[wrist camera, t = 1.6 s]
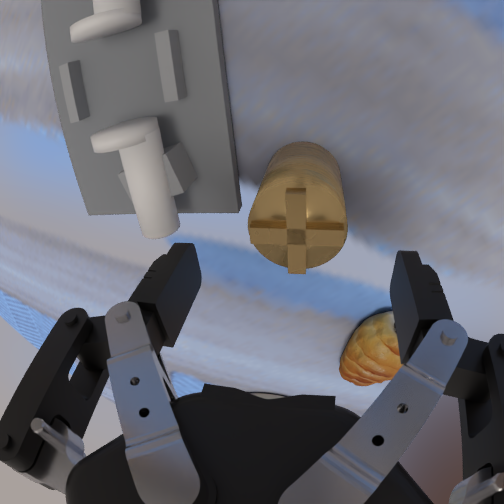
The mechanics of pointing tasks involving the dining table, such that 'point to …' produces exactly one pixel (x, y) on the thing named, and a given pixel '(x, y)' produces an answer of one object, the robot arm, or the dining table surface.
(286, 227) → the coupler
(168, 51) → the shaft rig
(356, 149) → the dining table surface
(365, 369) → the pastry
